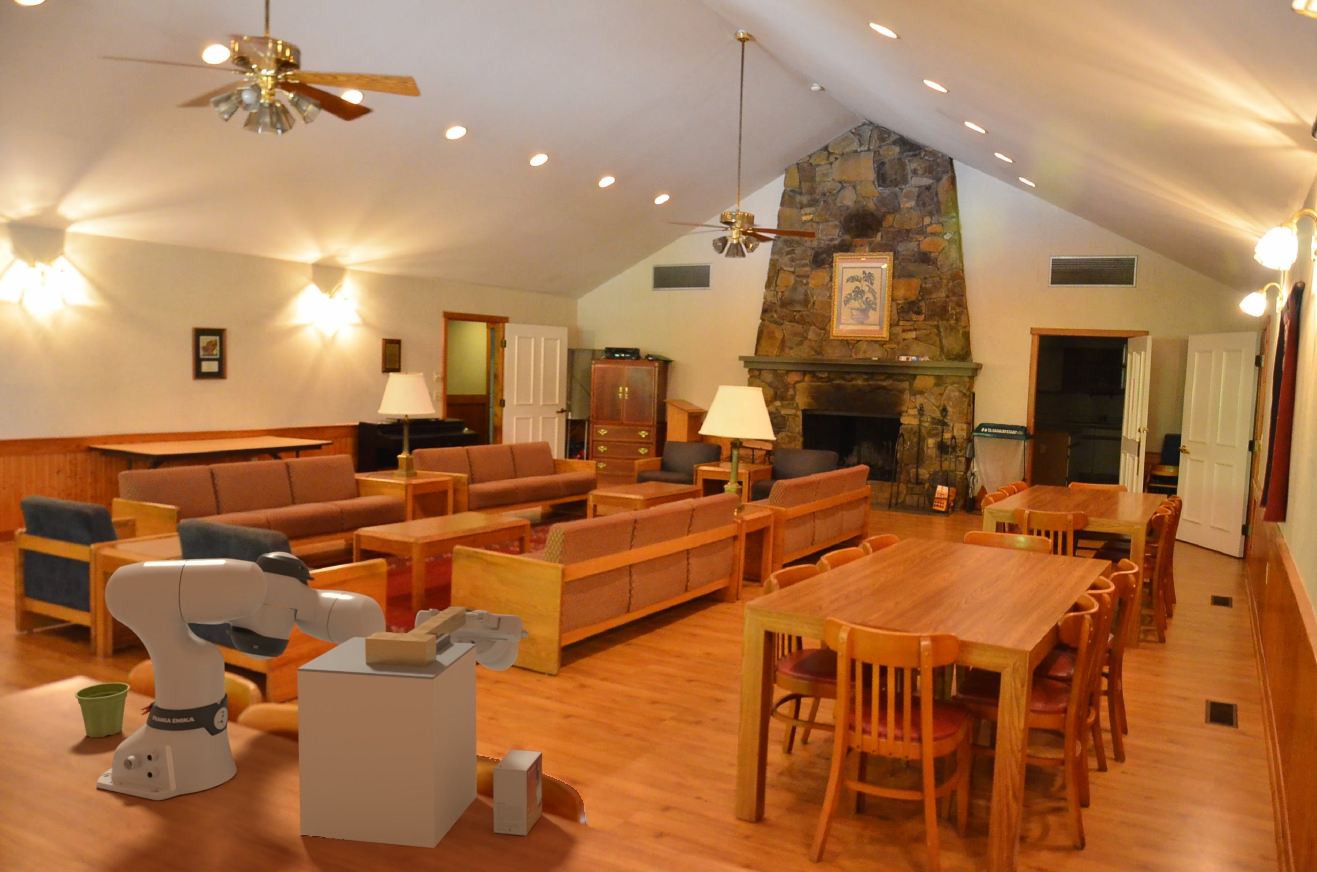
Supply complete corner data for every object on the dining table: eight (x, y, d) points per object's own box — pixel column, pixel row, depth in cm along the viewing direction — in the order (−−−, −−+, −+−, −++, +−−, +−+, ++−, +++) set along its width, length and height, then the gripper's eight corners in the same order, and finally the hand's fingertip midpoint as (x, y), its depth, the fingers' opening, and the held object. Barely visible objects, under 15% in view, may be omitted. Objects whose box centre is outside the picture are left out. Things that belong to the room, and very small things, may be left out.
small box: (526, 837, 148) (526, 770, 147) (492, 833, 149) (492, 767, 149) (543, 814, 156) (543, 751, 155) (510, 810, 157) (510, 748, 156)
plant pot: (113, 741, 185) (112, 698, 185) (65, 741, 185) (64, 697, 185) (140, 724, 194) (139, 682, 194) (94, 723, 195) (93, 682, 194)
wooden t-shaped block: (365, 663, 149) (365, 638, 149) (432, 621, 175) (431, 600, 174) (426, 667, 147) (425, 641, 147) (484, 624, 173) (484, 602, 173)
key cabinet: (300, 835, 148) (297, 658, 146) (356, 786, 166) (353, 628, 164) (434, 847, 144) (432, 666, 143) (476, 796, 162) (475, 634, 160)
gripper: (529, 653, 182) (509, 634, 170) (428, 647, 186) (401, 628, 173) (534, 620, 185) (514, 600, 173) (434, 615, 188) (408, 595, 176)
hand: (456, 614), depth 173 cm, fingers open, 8 cm apart
